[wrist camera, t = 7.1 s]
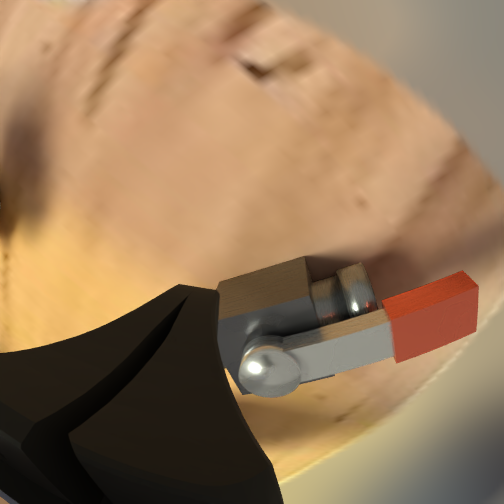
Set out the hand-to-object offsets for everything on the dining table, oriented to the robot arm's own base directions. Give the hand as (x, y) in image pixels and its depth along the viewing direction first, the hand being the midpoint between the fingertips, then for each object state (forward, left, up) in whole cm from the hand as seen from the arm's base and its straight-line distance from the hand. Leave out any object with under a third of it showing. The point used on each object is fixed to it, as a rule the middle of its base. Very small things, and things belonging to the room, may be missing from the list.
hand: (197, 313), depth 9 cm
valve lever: (-6, -5, -5) cm, 10 cm away
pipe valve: (-6, 0, -10) cm, 12 cm away
